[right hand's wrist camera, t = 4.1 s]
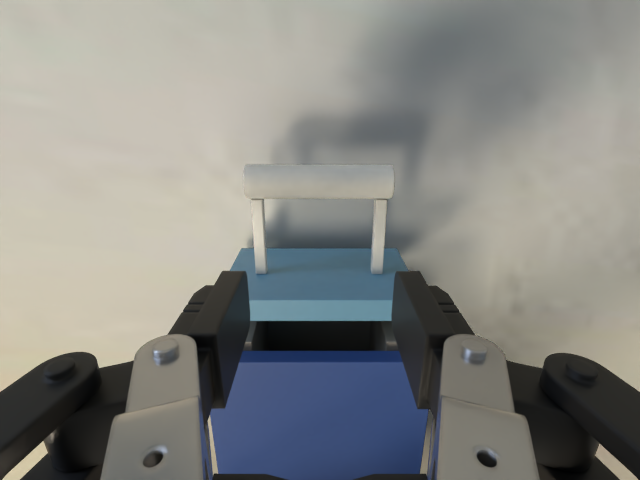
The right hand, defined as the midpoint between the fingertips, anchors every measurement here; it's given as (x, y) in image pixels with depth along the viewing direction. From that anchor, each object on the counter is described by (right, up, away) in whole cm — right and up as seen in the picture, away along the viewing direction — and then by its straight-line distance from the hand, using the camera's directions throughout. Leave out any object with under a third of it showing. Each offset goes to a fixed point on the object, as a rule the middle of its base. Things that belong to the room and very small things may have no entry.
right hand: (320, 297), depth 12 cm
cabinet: (0, -9, +16) cm, 19 cm away
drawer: (0, -3, +13) cm, 14 cm away
